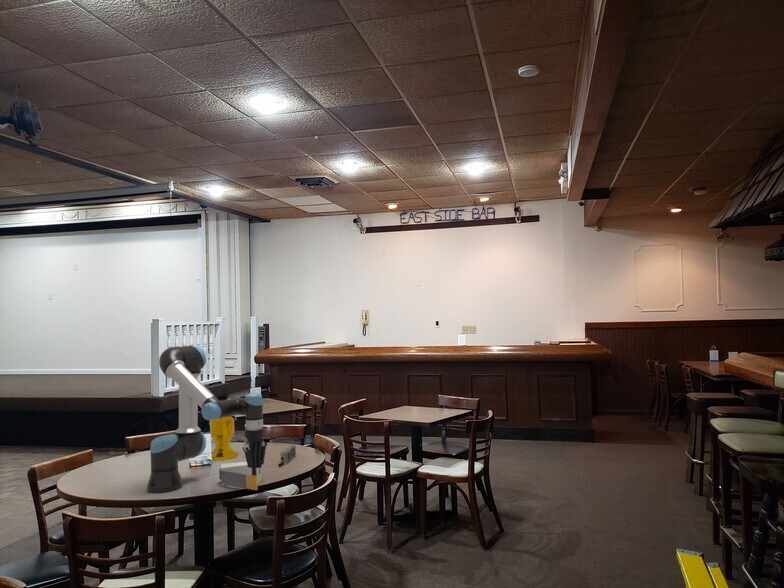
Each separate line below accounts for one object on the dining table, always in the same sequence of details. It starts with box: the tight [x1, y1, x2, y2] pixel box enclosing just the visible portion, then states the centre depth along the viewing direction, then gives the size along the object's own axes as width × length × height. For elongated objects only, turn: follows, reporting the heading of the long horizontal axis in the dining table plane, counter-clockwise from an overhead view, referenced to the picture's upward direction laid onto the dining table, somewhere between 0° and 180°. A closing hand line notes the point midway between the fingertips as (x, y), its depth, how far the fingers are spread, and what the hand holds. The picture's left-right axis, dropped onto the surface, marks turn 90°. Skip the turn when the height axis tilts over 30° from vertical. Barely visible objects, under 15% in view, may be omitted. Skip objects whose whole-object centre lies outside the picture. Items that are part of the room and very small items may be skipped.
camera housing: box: [218, 461, 262, 486], centre depth 272 cm, size 19×8×9 cm, turn 107°
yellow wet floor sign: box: [208, 416, 239, 462], centre depth 325 cm, size 18×24×28 cm
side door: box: [221, 470, 258, 491], centre depth 258 cm, size 23×1×6 cm, turn 55°
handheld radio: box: [278, 444, 297, 467], centre depth 309 cm, size 7×3×25 cm
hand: (256, 482), depth 255 cm, fingers closed
